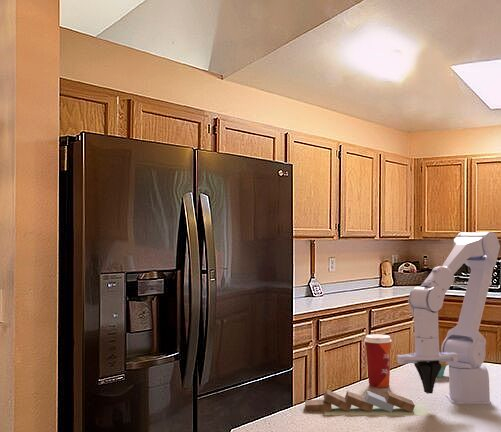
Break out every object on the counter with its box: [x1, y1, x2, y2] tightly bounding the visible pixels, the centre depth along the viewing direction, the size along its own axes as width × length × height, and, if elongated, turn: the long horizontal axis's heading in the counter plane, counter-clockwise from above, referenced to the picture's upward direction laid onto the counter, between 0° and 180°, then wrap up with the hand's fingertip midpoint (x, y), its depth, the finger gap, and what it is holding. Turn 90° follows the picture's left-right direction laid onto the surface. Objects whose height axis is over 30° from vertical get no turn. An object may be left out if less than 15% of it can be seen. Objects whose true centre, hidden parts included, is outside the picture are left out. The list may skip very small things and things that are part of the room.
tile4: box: [323, 388, 352, 412], centre depth 150 cm, size 2×4×6 cm
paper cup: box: [364, 333, 393, 389], centre depth 173 cm, size 8×8×14 cm
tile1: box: [384, 390, 416, 412], centre depth 148 cm, size 2×4×6 cm
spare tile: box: [363, 390, 394, 412], centre depth 149 cm, size 2×4×6 cm
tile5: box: [304, 398, 332, 413], centre depth 150 cm, size 2×4×6 cm
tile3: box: [344, 390, 374, 412], centre depth 149 cm, size 2×4×6 cm
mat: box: [323, 404, 432, 417], centre depth 149 cm, size 25×9×1 cm, turn 84°
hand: (428, 392), depth 148 cm, fingers closed
